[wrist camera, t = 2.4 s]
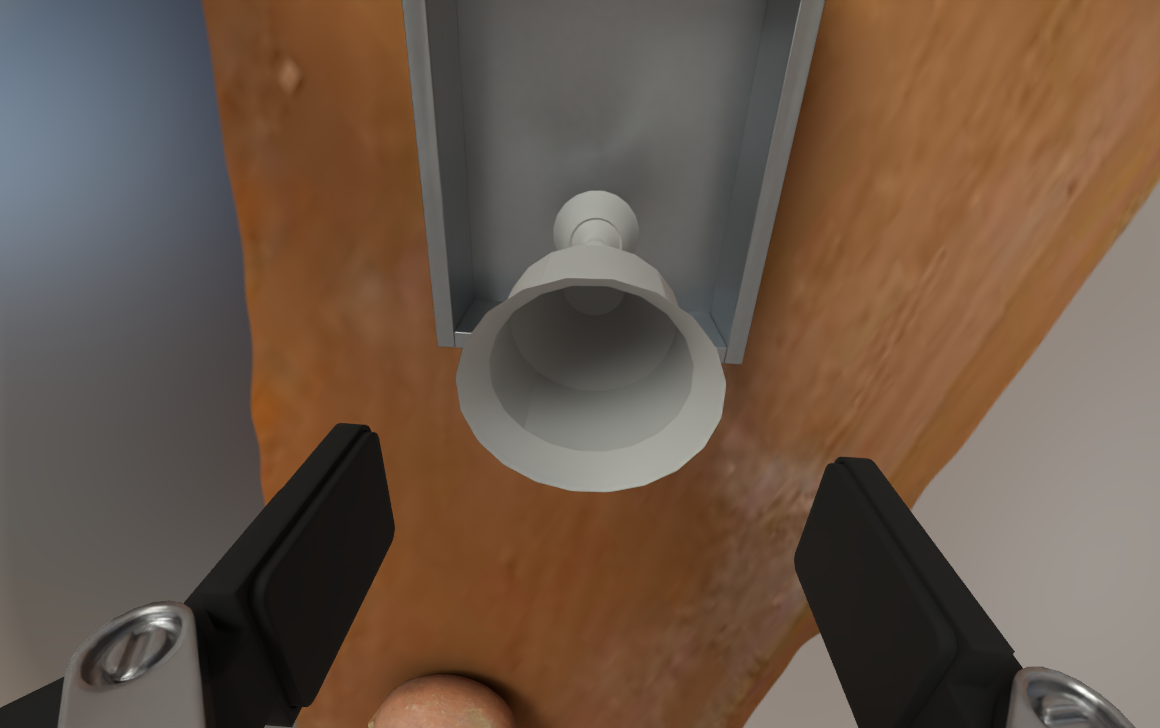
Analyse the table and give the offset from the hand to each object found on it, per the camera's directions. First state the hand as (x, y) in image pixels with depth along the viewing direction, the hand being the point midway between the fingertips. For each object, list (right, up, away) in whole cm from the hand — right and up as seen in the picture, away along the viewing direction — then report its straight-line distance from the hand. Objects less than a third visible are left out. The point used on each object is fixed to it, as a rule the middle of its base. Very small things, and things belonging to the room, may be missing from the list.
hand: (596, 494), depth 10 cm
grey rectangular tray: (+1, +15, +17) cm, 22 cm away
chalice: (+1, +11, +19) cm, 22 cm away
